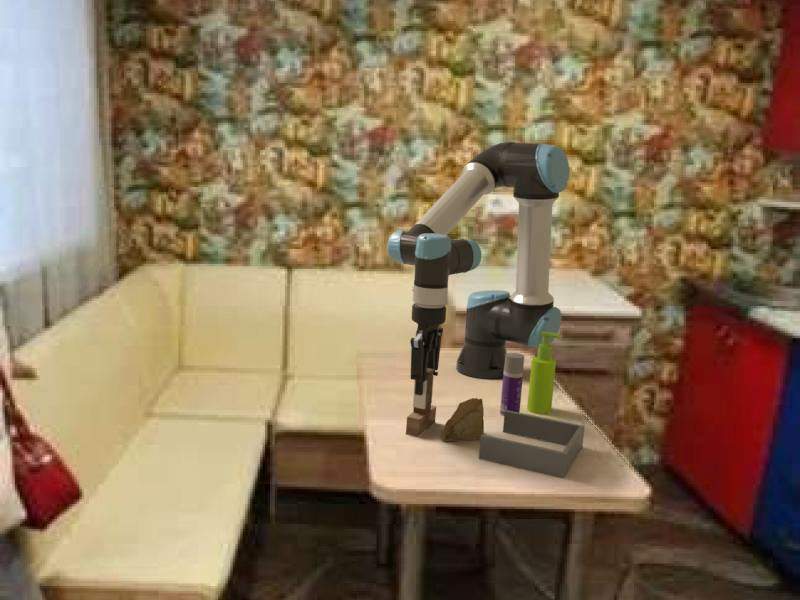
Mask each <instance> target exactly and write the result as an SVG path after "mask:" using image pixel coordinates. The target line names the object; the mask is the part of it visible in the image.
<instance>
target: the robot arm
mask: <svg viewBox="0 0 800 600" xmlns="http://www.w3.org/2000/svg"><path fill="white" fill-rule="evenodd" d="M569 164H570V163H569V160H568V157H567V154H566V153H565V152H564V149H563V148H562V147H560V146H557V145H552V144H548V143H536V142H535V143H533V142H515V141H504V142H500V143H497V144H494V145H492V146H490V147H487V148H486V149H484V150H483V151H481V152H479V153H478V154H477V155H475V156H474V157H473V158H472V159H470V161H468V162H467V163H466V165H464V167H463V168H462V171H461V173H462V174H461V175H460V176H459V178H458V179H456V181H454V182H453V183H452V184H451V186H450V187H449V188H448V189H447V190H446V191H445V192H444V193H443V194H442V195H441V197H440V198H438V199H437V200H436V201H435V202H434V203H433V205H432V206H431V207H430V208H429V209H428V210H427V211H426V212H425V213H424V214H423V215H422V216H421V217H420V218H419V219H418V220H417V221H416V222H415V223H414V225H413V226H412V227H411V228H410V229H409V230H407V231H405V230H401V231H400V230H398V231H394V232H393V233H392V234H391V235H390V236H389V238H388V240H387V246H386V247H387V253H388V257H389V258H390V259H391V260H392V261H393V262H397V263H400V264H403V265H409V266H414V280H413V286H412V288H411V291H412V292H413V293H412V302H413V304H412V306H411V321H412V322H414V323H416V324H417V329H416V332H415V337H411V339H410V347H411V350H410V351H411V353H410V379H411V380H414V387H413V401H412V403H413V404H412V407H413V408H414V407H416V408H421V409H425V406H426V392H427V381H426V372H427V368H430V369H434V371H433V379H434V376H435V377H437V376H438V375H439V372H438V370H439V361H440V352H441V343H442V337H443V332H444V328H443V327H439V325H443V324H444V323H446V317H447V316H446V315H447V307H446V305H447V303H448V294H449V293H448V291H449V287H448V286H449V278H450V277H449V276H452V275H457V274H462V273H463V274H466V273H468V272H470V271H472V270H475V269H477V267H478V266H479V265H480V263H481V262H482V249H481V247H480V246H479V244H478V243H477V242H476V241H475V240H473V239H470V238H460V239H453V238H451V237H450V236H449V235H448V234H449V233H450V232H451V231H452V230H453V229H454V228H455V226H456V225H458V224H459V223H460V221H461V220H462V219H463V218H464V217H465V216H466V215H467V214H468V212H469V211H470V210H471V209H472V208H473V207H474V206H475V205H476V204H477V202H479V200H481V199H482V197H483V196H486V195H489V194H491V193H492V192H493V191H495V189H497V188H501V187H503V188H505V187H506V188H513V192H512V193H513V198H514V199H515V200H516V202H518V222H517V223H518V225H517V247H516V248H517V249H516V250H517V252H516V253H517V254H516V255H517V256H516V275H515V276H516V279H515V290H514V292H513V293H512V294H510V293H511V292H509V291H506V290H495V289H493V290H491V289H490V290H479V291H475V292H472V293H470V294H469V295H468V298H467V304H466V306H465V307H466V313H465V315H466V316H465V329H464V330H465V331H464V341H463V345H462V348H461V350H460V352H459V355H458V357H457V359H456V366H455V367H456V370H457V372H459V373H460V374H463V375H464V376H468V377H472V378H478V379H488V380H489V379H501V378H503V373H504V365H505V356H506V354H507V353H508V352H507V349H506V342H509V343H515V344H519V345H523V346H526V347H528V348H537V349H538V345H539V344H542V339H543V335H540V333H541V332H543V331H544V332H552V333H556V334H559V331H560V328H561V324H562V312H561V309H560V308H558V307H557V306H554V302H555V301H554V299H555V298H554V296H553V295H552V294H551V293H550V292H549V284H550V263H551V245H552V242H551V241H552V225H553V223H552V220H553V204H554V203H555V202H556V201H557V200H558V199H559V198H560V193H561V192H563V191H565V189H566V188H567V186H568V181H569V179H570V165H569ZM555 339H556V338H554V337H550V340H549V344H550V345H551V344H553V342H554V340H555ZM433 387H434V384H433V385H432V393H433V392H434V389H433ZM432 403H433V397H432V398H431V405H432Z"/></svg>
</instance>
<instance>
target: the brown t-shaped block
mask: <svg viewBox="0 0 800 600" xmlns="http://www.w3.org/2000/svg"><path fill="white" fill-rule="evenodd" d="M433 371H434V369H430V368H427V372H426V381H427V392H426V406H425V409H421V408H416V407H413V411H412V413H410V414H409V415H408V416H406V429H405V435H409V436H413V437H420V436H421V435H422V434H423V433H425V432H426V431H427V430H428V429H430V428H431V426H433V425H434V424H436V416H437V414H436V413H437V406H436V405H432V404H431V398H432V399H433V392H432V385H433V386H434V378H433V376H434V375H433Z"/></svg>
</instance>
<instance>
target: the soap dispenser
mask: <svg viewBox="0 0 800 600" xmlns="http://www.w3.org/2000/svg"><path fill="white" fill-rule="evenodd" d="M540 335H543V339H542V344H539V345H538V348H537V356H533V357H531V366H530V373H529V374H530V375H529V385H528V386H529V387H528V398H527V408H526V409H527V411H529V412H530V413H532V414H537V415H548V414H550V413H552V407H553V406H552V405H553V396H554V387H555V376H556V366H557V360H556V359H555V358H553V357H552V353H553V345H551V344H549V340H550V337H554V338H555V339H556V340H561V339H563V337H564V336H563V335H561V334H559V333H557V334H556V333H552V332H544V331H543V332H541V333H540Z"/></svg>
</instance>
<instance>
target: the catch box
mask: <svg viewBox="0 0 800 600" xmlns="http://www.w3.org/2000/svg"><path fill="white" fill-rule="evenodd" d="M502 426H503V427H502V432H503V433H506V434H511V435H516V436H519V437H525V438H529V439H534V440H537V441H538V440H539V441H544V442H549V443H553V444H559V445H563V446H565V448H564V449H563V451H561V450H558V449H557V450H556V449H552V448H548V447H547V448H546V447H542V446H538V445H534V444H533V445H532V444H528V443H525V442H519V441H514V440H510V439H505V438H500V437H498V436H497V437H496V436H491V435H487V434H484V435H483V434H482V435H481V439H479V441H480V442H479V453H478V458H479V459H481V460H485V461H488V462H489V461H490V462H494V463H498V464H502V465H506V466H511V467H515V468H520V469H524V470H529V471H533V472H537V473H542V474H545V475H546V474H547V475H551V476H555V477H558V478H559V477H560V478H565V477H566V475H567V473H568V471H569V470H570V468H571V467H572V465H573V464H574V461H575V460H576V459H577V457H578V455H579V453H580V452H581V450H582V449H583V444H584V437H585V427H586V425H582V424H578V423H574V422H573V423H572V422H567V421H562V420H557V419H552V418H549V417H544V416H543V417H542V416H537V415H532V414H528V413H522V412H520V413H518V412H513V411H508V410H506V411H505V414H504V416H503V425H502Z"/></svg>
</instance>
